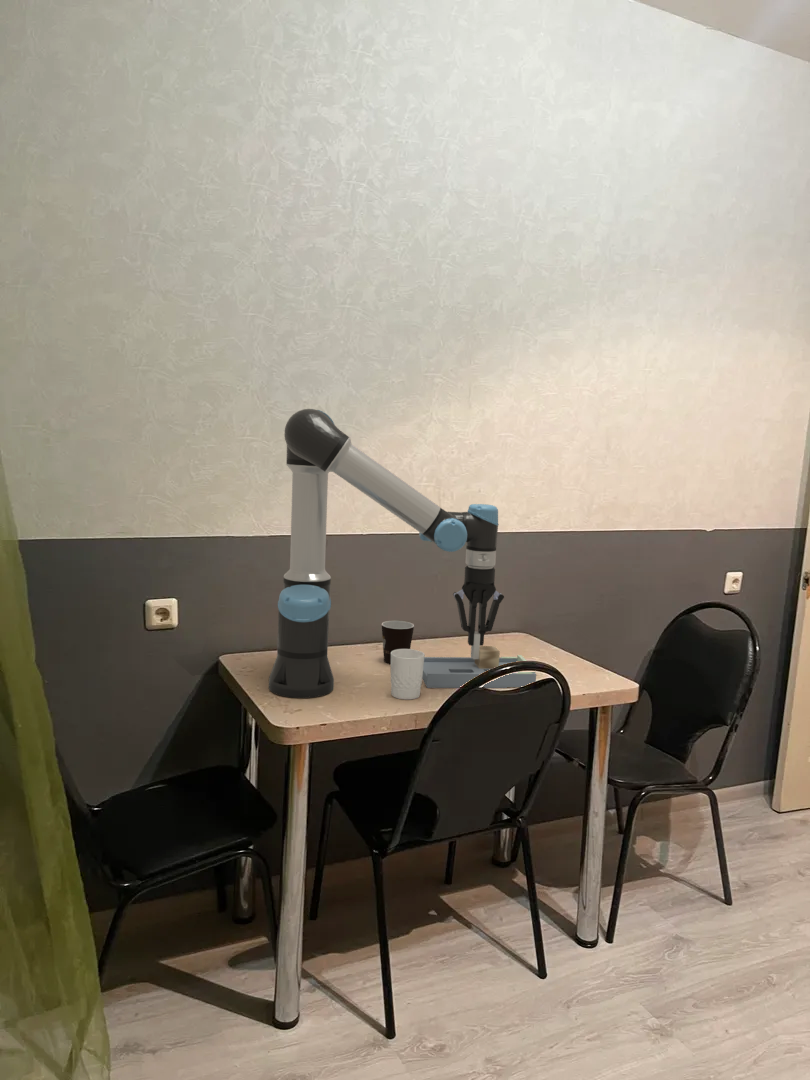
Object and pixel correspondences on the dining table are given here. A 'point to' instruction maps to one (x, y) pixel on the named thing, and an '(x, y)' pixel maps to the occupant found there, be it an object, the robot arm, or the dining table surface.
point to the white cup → (406, 673)
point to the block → (488, 657)
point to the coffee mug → (396, 637)
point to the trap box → (469, 673)
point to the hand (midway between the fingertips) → (474, 657)
